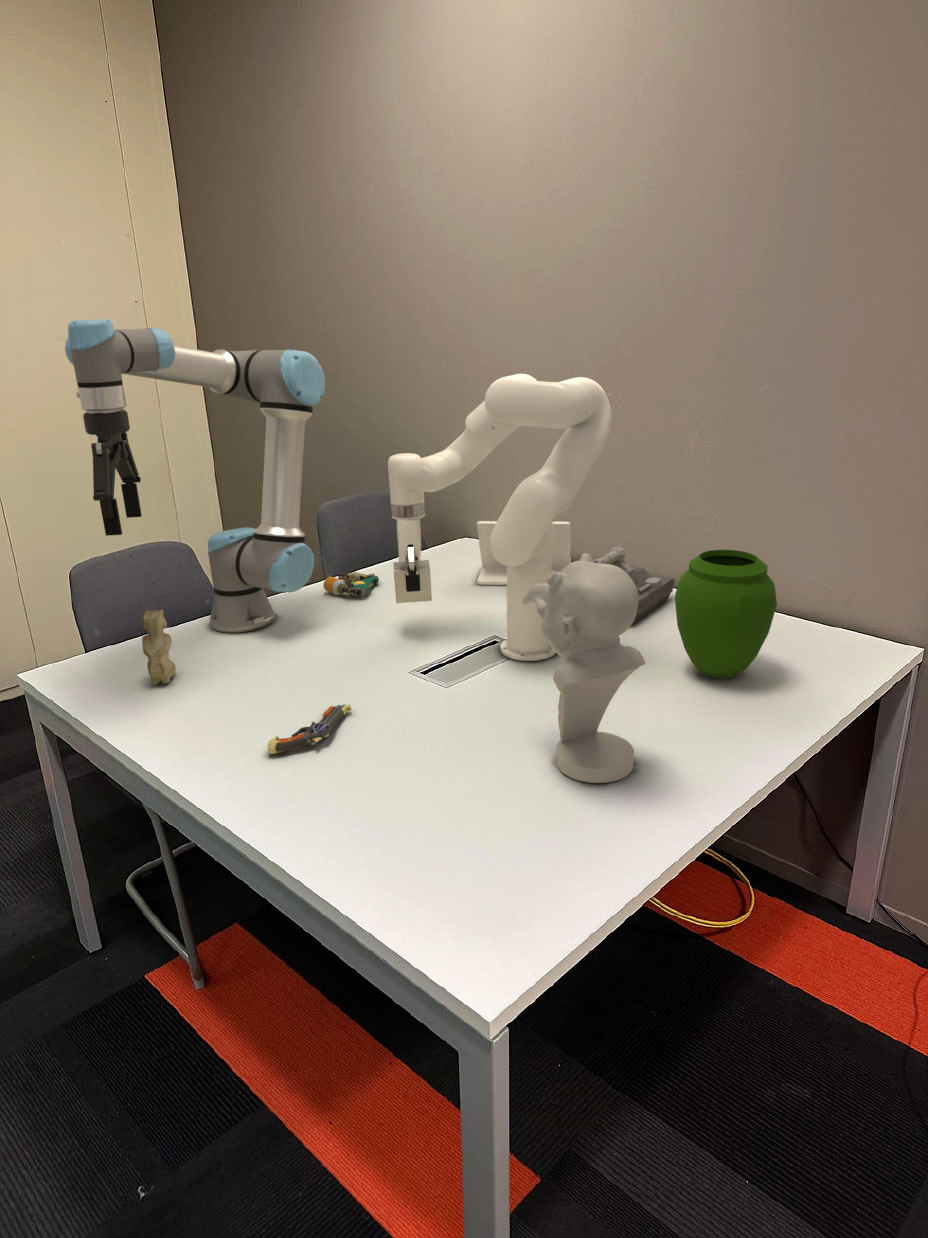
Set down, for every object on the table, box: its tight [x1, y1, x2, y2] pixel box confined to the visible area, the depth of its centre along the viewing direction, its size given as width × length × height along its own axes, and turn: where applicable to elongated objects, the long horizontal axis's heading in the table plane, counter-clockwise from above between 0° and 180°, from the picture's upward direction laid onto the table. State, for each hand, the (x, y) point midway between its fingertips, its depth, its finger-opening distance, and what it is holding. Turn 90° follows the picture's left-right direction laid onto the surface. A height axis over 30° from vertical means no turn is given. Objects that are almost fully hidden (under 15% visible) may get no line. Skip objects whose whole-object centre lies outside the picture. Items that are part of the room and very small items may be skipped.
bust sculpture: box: [522, 553, 646, 784], centre depth 140 cm, size 16×24×35 cm, turn 28°
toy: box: [593, 546, 676, 624], centre depth 212 cm, size 25×20×15 cm
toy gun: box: [267, 703, 352, 755], centre depth 155 cm, size 3×19×10 cm
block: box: [393, 559, 433, 604], centre depth 196 cm, size 7×8×8 cm
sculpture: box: [141, 608, 177, 685], centre depth 176 cm, size 6×7×15 cm
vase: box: [674, 549, 778, 680], centre depth 171 cm, size 20×20×24 cm
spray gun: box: [323, 571, 380, 597], centre depth 231 cm, size 4×17×15 cm
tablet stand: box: [476, 520, 572, 586], centre depth 236 cm, size 18×25×17 cm
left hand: (124, 525), depth 161 cm, fingers open, 13 cm apart
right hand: (413, 585), depth 197 cm, fingers closed on block, 6 cm apart
